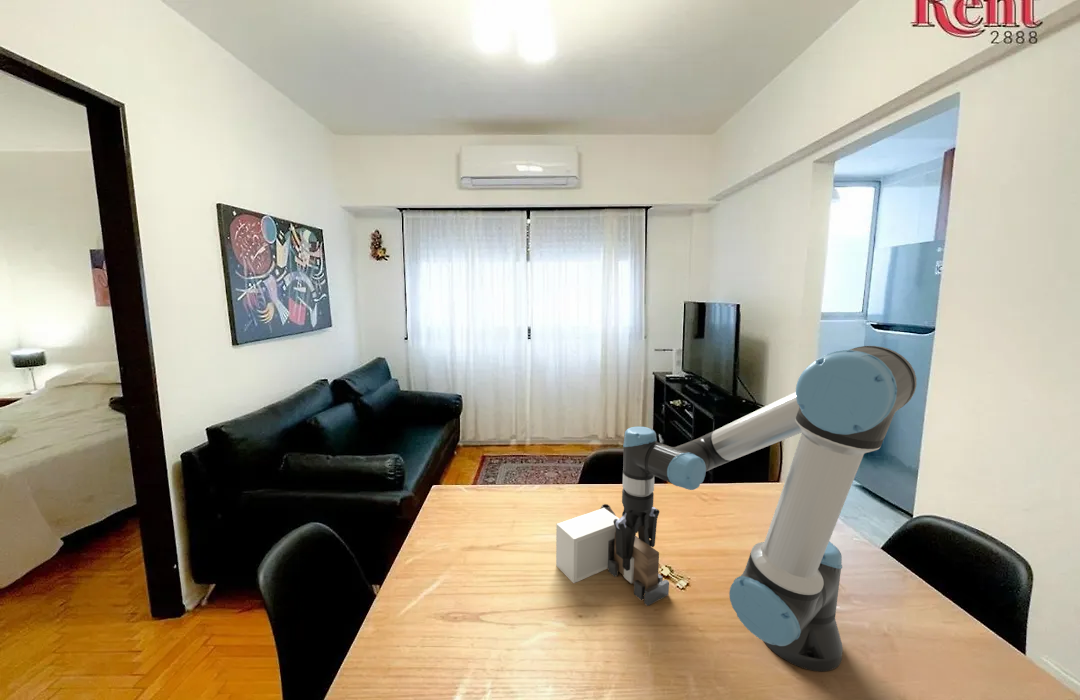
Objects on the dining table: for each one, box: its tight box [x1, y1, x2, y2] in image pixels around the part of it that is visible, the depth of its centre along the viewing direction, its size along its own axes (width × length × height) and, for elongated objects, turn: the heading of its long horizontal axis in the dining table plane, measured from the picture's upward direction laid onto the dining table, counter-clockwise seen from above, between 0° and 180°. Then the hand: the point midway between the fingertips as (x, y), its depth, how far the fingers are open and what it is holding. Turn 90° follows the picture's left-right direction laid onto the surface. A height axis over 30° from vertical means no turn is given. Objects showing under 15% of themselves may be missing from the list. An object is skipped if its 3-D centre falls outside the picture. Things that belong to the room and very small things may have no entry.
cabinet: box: [555, 508, 620, 584], centre depth 111 cm, size 8×16×12 cm, turn 121°
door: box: [614, 532, 660, 590], centre depth 105 cm, size 12×4×10 cm, turn 31°
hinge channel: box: [607, 539, 670, 607], centre depth 104 cm, size 15×7×8 cm, turn 31°
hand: (634, 576), depth 105 cm, fingers closed on door, 3 cm apart
